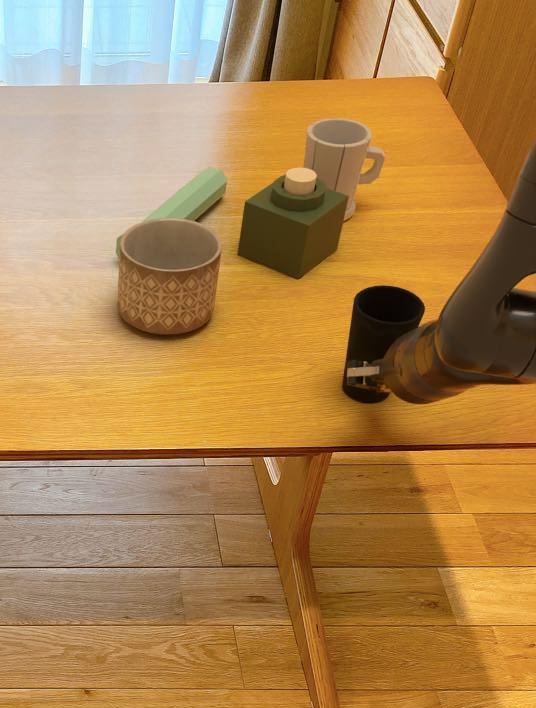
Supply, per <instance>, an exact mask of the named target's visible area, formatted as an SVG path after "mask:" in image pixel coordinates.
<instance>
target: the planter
mask: <svg viewBox="0 0 536 708" xmlns="http://www.w3.org/2000/svg"><path fill="white" fill-rule="evenodd" d="M122 234H123V236H122V238H121V241H120V257H118V259H119V260H118V261H119V262H118V281H117V304H116V307H117V311H118V313H119V315H120V316H121V318H122V319H123V320H124V321H125V322H126V323H127V324H129V325H130V326H132V327H133V328H135V329H137V330H140V331H143V332H148V333H151V334H155V335H179V334H184V333H188V332H191V331H194V330H197V329H199V328H201V327H202V326H204V325H205V324H206V323H207V322H209V320H210V319H211V317H212V315H213V314H214V310H215V305H216V304H215V303H216V295H217V290H218V289H217V288H218V282H219V272H220V264H221V256H222V249H223V242H222V239H221V238H220V236H219V235H218V233H217V232H216V231H214V230H213V229H212V228H210V227H208V226H207V225H205V224H203V223H200V222H197V221H196V220H195V221H191V220H187V219H180V218H158V219H152V220H148V221H144V222H142V221H141V222H138V223H136V224H134V225H133V226H131V227H129V228H128V229H127V230H126V231H125V232H124V233H122Z"/></svg>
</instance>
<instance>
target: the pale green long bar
mask: <svg viewBox="0 0 536 708" xmlns="http://www.w3.org/2000/svg"><path fill="white" fill-rule="evenodd" d="M227 184H228V177H227V176H226V174H225V173H224V171H223V170H222V169H220V168H215V167H211V166H210V167H207V168H205V169H203V170H202V171H201V172H200V173H198V174H197V175H195V177H193V178H192V179H191V180H190V181H189V182H187V183H186V184H185V185H183V186H182V188H180V189H179V190H178V191H177V192H175V193H174V194H173V195H172V196H171V197H170V198H168V199H167V200H166V201H165V202H164V203H162V204H161V205H160V206H158V207H157V208H156V209H155V210H154V211H153V212H152V213H150V214H149V215H148V216H147V217H145V218H144V219H143V220H142V221H141V222H144V221H148V220H152V219H158V218H180V219H187V220H191V221H195V222H196V220H197V219H198V218H199V217H200V216H202V215H203V214H204V213H205V212H206V211H207V210H209V209H210V208H211V207H212V206H213V205H214V204H215V203H216V202H217V201H218V200H219V199H221V198H222V197H223V196H224V195H225V194H226V191H227ZM123 234H124V233H122V234H121V235H119V236H118V237H116V243H115V255H116V256H117V257H118V258H119V257H120V241H121V238H122V236H123Z"/></svg>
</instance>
